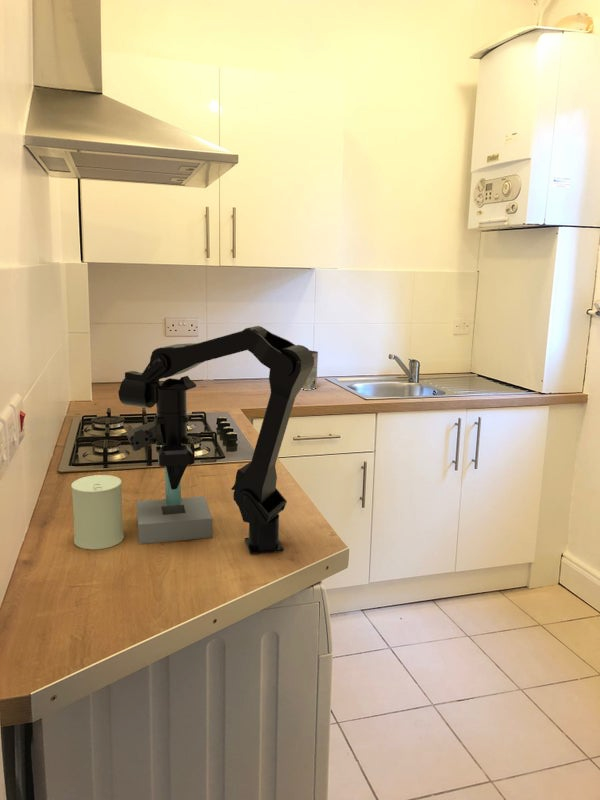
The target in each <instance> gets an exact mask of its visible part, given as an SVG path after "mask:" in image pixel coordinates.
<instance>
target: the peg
mask: <svg viewBox="0 0 600 800" xmlns="http://www.w3.org/2000/svg"><path fill="white" fill-rule="evenodd" d="M164 478H165V479H164V480H165V481H164V482H165V483H164V484H165V499H166V504H167V505H170V506H175V505H179V504H181V498H182V488H181V487H182V484H181V483H182V482H181V481H182V479H181V480H180V483H179V485H178V488H177V489H173V490H172V489H171V486H170V482H169V477H168V473H167V468H166V467H164Z"/></svg>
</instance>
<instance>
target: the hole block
mask: <svg viewBox="0 0 600 800" xmlns="http://www.w3.org/2000/svg"><path fill="white" fill-rule="evenodd" d="M136 513H137V514H136V515H137V535H138V545H142V544H155V543H165V542H167V543H169V542H176V541H188V540H199V539H211V538H213V516H212V513H211V511H210V508H209V505H208V502H207V499H206V496H205V495H204V496H191V497H181V504H179V505H175V506H170V505H167V504H166V498H164V499H162V498H161V499H153V500H152V499H151V500H139V501H138V500H137V501H136Z"/></svg>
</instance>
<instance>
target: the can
mask: <svg viewBox="0 0 600 800" xmlns="http://www.w3.org/2000/svg"><path fill="white" fill-rule="evenodd" d="M70 487H71V494H72V495H71V496H72V509H73V510H72V512H73V525H74V526H73V528H74V530H73V531H74V532H73V533H74V539H73V542H74V544H75V546H76V547H78V548H80V549H83V550H92V551H93V550H103V549H108V548H111V547H114V546H117V545H118V544H119V543H122V541H123V540H124V537H125V534H124V526H123V503H122V479H120V478H119V477H118V476H114V475H110V474H109V475H108V474H97V475H95V474H94V475H88V476H83V477H80V478H77V479H76V480H74V481H73V482H72V483H71V485H70Z"/></svg>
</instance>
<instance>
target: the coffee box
mask: <svg viewBox="0 0 600 800" xmlns="http://www.w3.org/2000/svg"><path fill="white" fill-rule="evenodd" d="M309 350H310V352H311V353H312V355H313V357H314V366H313V369H312V371H311V372H310V374H309V376H308V378H307V380H306V382H305V384H304V385H303V387H302V388H303V389H307V390H308V389H313V388H316V389H317V385H318V384H317V383H318V381H317V379H318V361H319V360H318V359H319V358H318V357H319V355H318V354H319V351H316V350H311V349H309Z"/></svg>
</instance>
